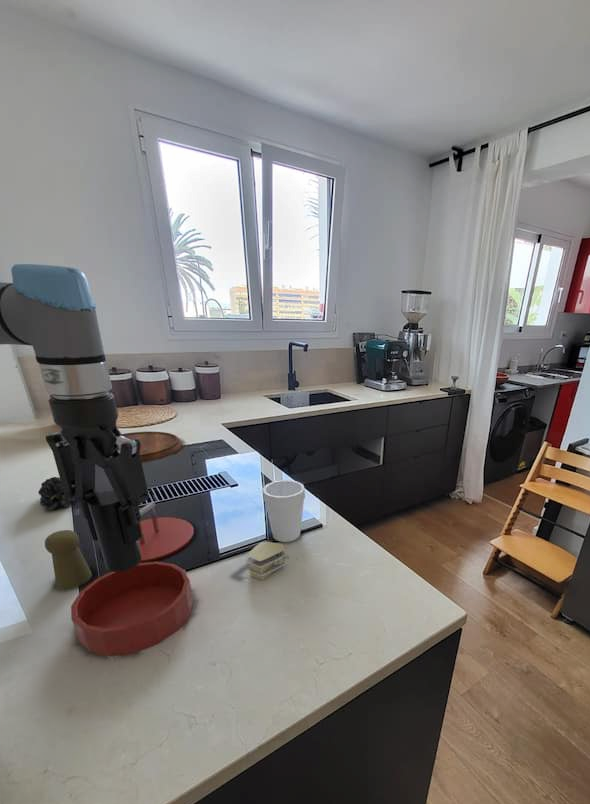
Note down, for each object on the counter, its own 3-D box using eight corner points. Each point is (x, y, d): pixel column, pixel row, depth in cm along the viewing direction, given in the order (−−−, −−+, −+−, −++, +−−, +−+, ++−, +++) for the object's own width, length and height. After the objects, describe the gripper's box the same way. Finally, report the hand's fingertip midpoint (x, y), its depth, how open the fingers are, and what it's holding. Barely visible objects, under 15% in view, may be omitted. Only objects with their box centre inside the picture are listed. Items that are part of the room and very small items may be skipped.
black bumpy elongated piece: (40, 464, 108) (40, 482, 97) (77, 467, 114) (81, 484, 103) (37, 493, 110) (36, 514, 99) (73, 495, 115) (76, 515, 104)
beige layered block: (268, 593, 76) (266, 570, 74) (234, 578, 80) (231, 555, 78) (299, 566, 84) (298, 545, 82) (267, 554, 88) (265, 533, 86)
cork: (81, 568, 82) (66, 523, 77) (99, 577, 79) (85, 530, 75) (49, 585, 77) (32, 537, 72) (68, 595, 74) (51, 546, 70)
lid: (83, 559, 85) (71, 523, 81) (142, 517, 101) (135, 486, 98) (161, 571, 82) (153, 534, 78) (209, 526, 99) (204, 494, 95)
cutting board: (77, 470, 128) (75, 463, 127) (93, 441, 154) (91, 435, 153) (183, 458, 140) (182, 452, 139) (181, 433, 167) (180, 427, 166)
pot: (53, 647, 63) (42, 621, 61) (130, 579, 79) (124, 556, 77) (151, 666, 60) (144, 639, 58) (211, 592, 76) (207, 568, 74)
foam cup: (298, 550, 90) (296, 499, 85) (260, 545, 91) (256, 495, 86) (310, 529, 99) (309, 482, 93) (275, 524, 100) (272, 478, 95)
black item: (97, 569, 63) (78, 503, 58) (121, 551, 68) (105, 488, 63) (126, 574, 62) (109, 507, 57) (148, 555, 67) (134, 492, 62)
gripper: (-3, 394, 51) (48, 543, 61) (120, 405, 49) (153, 559, 58) (48, 384, 58) (87, 520, 68) (159, 393, 55) (183, 533, 65)
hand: (117, 538), depth 63 cm, fingers closed on black item, 5 cm apart
